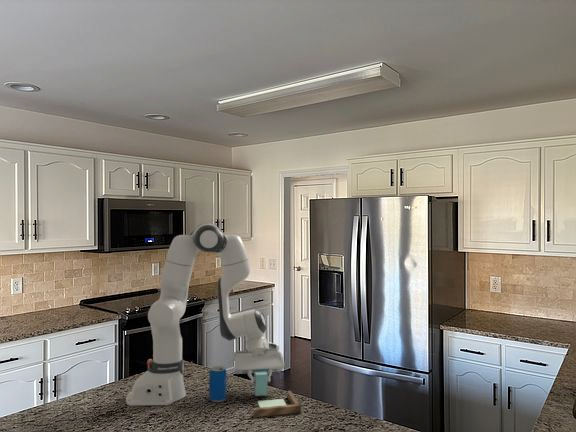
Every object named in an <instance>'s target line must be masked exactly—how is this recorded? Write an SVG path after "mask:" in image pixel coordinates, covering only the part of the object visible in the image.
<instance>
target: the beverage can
mask: <svg viewBox="0 0 576 432" xmlns="http://www.w3.org/2000/svg"><path fill="white" fill-rule="evenodd" d="M208 377H209V379H208V380H209V385H208V386H209V387H208V388H209V391H208V392H209V393H208V395H209V396H208V397H209V400H210V401H211V402H213V403H221V402H224V401H225V400H226V398H227V369H226V367H225V366H223V365H216V366H211V367H210V370H209V376H208Z"/></svg>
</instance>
